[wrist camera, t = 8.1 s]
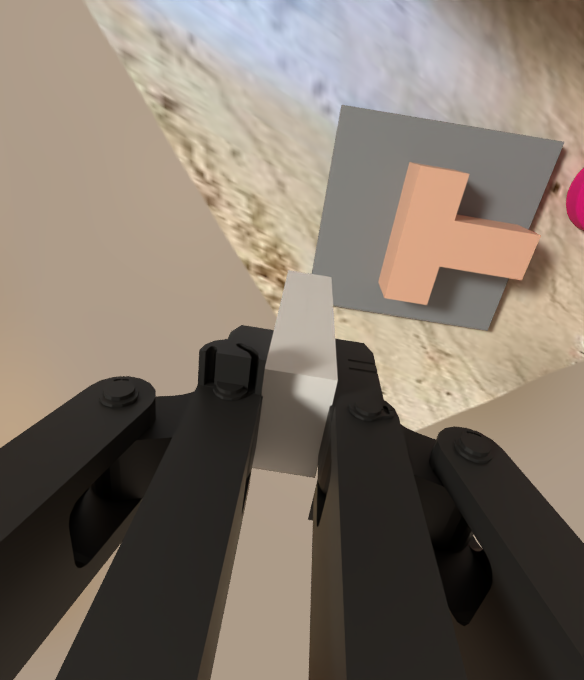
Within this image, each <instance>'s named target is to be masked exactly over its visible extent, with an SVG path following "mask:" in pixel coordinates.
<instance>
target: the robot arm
mask: <svg viewBox="0 0 584 680" xmlns="http://www.w3.org/2000/svg"><path fill="white" fill-rule="evenodd" d="M317 467H318V480H317V484H316V488H315V493H314V497H313V501H312V505H311V510H310V514H309V518H308V519H309V520H313V543H312V578H311V580H312V581H311V615H310V652H309V680H584V543H583V542H582V541H581V540H580V538H578V536H577V535H576V534H575V533H574V531H573V530H572V529H571V528H570V527H569V526H568V525H567V523H566V522H565V521H564V520H563V519H562V518H561V517H560V515H559V514H558V513H557V512H556V511H555V509H554V508H553V507H552V506H551V505H550V504H549V502H548V501H547V500H546V499H545V498H544V497H543V496H542V494H541V493H540V492H539V491H538V490H537V489H536V487H535V486H534V485H533V484H532V483H531V482H530V480H529V479H528V478H527V477H526V476H525V475H524V474H523V472H522V471H521V470H520V469H519V468H518V467H517V465H516V464H515V463H514V462H513V461H512V460H511V458H510V457H509V456H508V455H507V454H506V453H505V451H504V450H503V449H502V448H501V447H499V446H498V445H497V444H496V443H495V442H494V441H493V440H491V439H490V438H488V437H486V436H484V435H483V434H481V433H479V432H477V431H473V430H471V429H467V428H462V427H449V428H445V429H444V430H442V431H441V432H440V433H439V434H438V436H437V439H436V440H435V439H432V438H429V437H427V436H424V435H422V434H419V433H416V432H414V431H412V430H410V429H407V428H406V427H404V426H402V425H401V424H400V420H399V417H398V415H397V413H396V411H395V409H394V408H393V407H392V406H391V405H390V404H389V403H387V402H386V401H384V400H383V395H382V391H381V386H380V382H379V378H378V374H377V369H376V365H375V360H374V356H373V353H372V352H371V351H370V349H369V348H368V347H367V346H366V345H365V344H364V343H359V342H353V341H346V340H340V339H335V328H334V311H333V295H332V279H331V277H328V276H322V275H315V274H309V273H303V272H297V271H290V270H288V274H287V278H286V283H285V287H284V291H283V295H282V299H281V303H280V307H279V311H278V316H277V320H276V324H275V328H274V330H268V329H263V328H257V327H250V326H243V325H241V326H240V327H238V328H236V329H235V330H233V331H232V332H231V333H230V335H229V337H228V339H225V340H217V341H213V342H210V343H208V344H206V345H204V346H203V347H202V348H201V349H200V351H199V372H198V386H197V388H196V390H195V391H194V392H191V393H188V394H184V395H176V396H159V397H155V389H154V388H153V386H152V385H151V384H150V383H148V382H146V381H144V380H143V379H140V378H135V377H129V376H127V377H124V376H123V377H112V378H108V379H105V380H101V381H99V382H97V383H95V384H93V385H91V386H89V387H88V388H86V389H85V390H83V391H82V392H80V393H79V394H78V395H76V396H75V397H73V398H72V399H70V400H69V401H67V402H66V403H65V404H63V405H62V406H60V407H59V408H57V409H56V410H54V411H53V412H52V413H50V414H49V415H47V416H46V417H44V418H43V419H42V420H40V421H39V422H37V423H36V424H34V425H33V426H31V427H30V428H29V429H27V430H26V431H24V432H23V433H21V434H20V435H19V436H17V437H16V438H14V439H13V440H11V441H10V442H8V443H7V444H6V445H4V446H3V447H2V448H0V680H13V679H14V678H15V677H16V676H17V674H18V673H19V672H20V670H21V669H22V668H23V667H24V665H25V664H26V663H27V661H28V660H29V659H30V658H31V656H32V655H33V654H34V652H35V651H36V650H37V649H38V648H39V646H40V645H41V644H42V642H43V641H44V640H45V639H46V637H47V636H48V635H49V634H50V632H51V631H52V630H53V629H54V627H55V626H56V625H57V623H58V622H59V621H60V620H61V618H62V617H63V616H64V615H65V613H66V612H67V611H68V609H69V608H70V607H71V606H72V604H73V603H74V602H75V601H76V599H77V598H78V597H79V596H80V594H81V593H82V592H83V590H84V589H85V588H86V587H87V585H88V584H89V583H90V582H91V580H92V579H93V578H94V576H95V575H96V574H97V573H98V571H99V570H100V569H101V568H102V566H103V565H104V564H105V563H106V561H107V560H108V559H109V558H110V556H111V555H112V554H113V552H114V551H115V550H116V549H117V547H118V546H119V544H121V545H120V547H119V549H118V551H117V553H116V555H115V557H114V559H113V561H112V564H111V565H110V568H109V570H108V572H107V574H106V576H105V578H104V580H103V582H102V584H101V586H100V588H99V590H98V592H97V594H96V596H95V598H94V601H93V603H92V605H91V607H90V609H89V611H88V613H87V615H86V617H85V619H84V621H83V623H82V625H81V627H80V630H79V632H78V634H77V636H76V638H75V640H74V642H73V644H72V646H71V648H70V650H69V652H68V654H67V656H66V658H65V660H64V663H63V665H62V667H61V669H60V671H59V673H58V675H57V677H56V679H55V680H210V678H211V673H212V668H213V663H214V658H215V653H216V648H217V643H218V638H219V633H220V628H221V623H222V618H223V614H224V608H225V604H226V599H227V594H228V589H229V584H230V579H231V574H232V568H233V564H234V559H235V554H236V549H237V544H238V539H239V534H240V529H241V524H242V519H243V514H244V510H245V505H246V500H247V495H248V490H249V484H250V476H251V469H252V468H256V469H262V470H269V471H275V472H281V473H288V474H294V475H300V476H307V477H313V478H315V476H316V471H317ZM473 534H474V535H475V537H476V539H477V540H478V542H479V543H480V545H481V546H482V548H483V549H482V548H481V547H480V546H479V544H478V543H477V542H476V540H475V538H474V537H473ZM121 542H122V543H121Z"/></svg>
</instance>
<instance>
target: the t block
mask: <svg viewBox="0 0 584 680" xmlns="http://www.w3.org/2000/svg"><path fill="white" fill-rule="evenodd" d="M468 178H469V174H468V173H464V172H461V171H457V170H453V169H448V168H442V167H436V166H430V165H424V164H418V163H412V162H409V166H408V169H407V173H406V177H405V181H404V185H403V189H402V193H401V196H400V200H399V204H398V208H397V212H396V216H395V220H394V223H393V227H392V231H391V235H390V239H389V243H388V247H387V250H386V254H385V258H384V262H383V266H382V270H381V273H380V277H379V281H378V283H379V285H380V288H381V290H382V293H383V296H384V298H387V299H393V300H399V301H405V302H411V303H417V304H423V305H427V303H428V300H429V297H430V294H431V291H432V288H433V285H434V282H435V279H436V276H437V273H438V270H439V267H445V268H451V269H457V270H463V271H469V272H475V273H481V274H487V275H493V276H499V277H505V278H511V279H517V280H522V279H523V276H524V274H525V272H526V269H527V267H528V265H529V262H530V260H531V258H532V255H533V253H534V251H535V248H536V246H537V244H538V241H539V239H540V237H541V235H539V234H537V233H535V232H533V231H530V230H528V229H526V228H524V227H522V226H520V225H517V224H511V223H505V222H499V221H493V220H487V219H481V218H475V217H469V216H463V215H457V211H458V208H459V205H460V202H461V199H462V196H463V193H464V190H465V187H466V184H467V181H468Z"/></svg>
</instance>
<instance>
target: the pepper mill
mask: <svg viewBox="0 0 584 680" xmlns="http://www.w3.org/2000/svg"><path fill="white" fill-rule="evenodd" d="M566 208H567V214H568V216H569V218H570V220H571V221H572V222H573V224H574V225H575V226H576V227H578V228H580V229H582V230H584V168H583V169H582V170H581V171H580V172H579V173H578V174H577V176H576V177H575V179H574V180H573V182H572V184H571V186H570V188H569V190H568V193H567V199H566Z"/></svg>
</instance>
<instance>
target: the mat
mask: <svg viewBox="0 0 584 680" xmlns="http://www.w3.org/2000/svg"><path fill="white" fill-rule="evenodd" d="M563 144H564V142H562V141H556V140H550V139H544V138H538V137H532V136H526V135H520V134H514V133H508V132H502V131H496V130H490V129H484V128H478V127H472V126H466V125H460V124H454V123H448V122H442V121H436V120H430V119H423V118H417V117H411V116H405V115H399V114H393V113H387V112H381V111H375V110H369V109H363V108H357V107H351V106H345V105H342V106H341V111H340V117H339V122H338V128H337V134H336V139H335V145H334V151H333V156H332V162H331V168H330V173H329V179H328V185H327V190H326V196H325V202H324V207H323V213H322V219H321V224H320V230H319V236H318V241H317V247H316V253H315V259H314V264H313V270H312V274H315V275H322V276H328V277H331V279H332V295H333V306H338V307H344V308H350V309H356V310H362V311H369V312H375V313H381V314H387V315H393V316H400V317H406V318H412V319H418V320H424V321H431V322H437V323H443V324H449V325H455V326H461V327H468V328H474V329H480V330H486V331H488V328H489V326H490V323H491V321H492V318H493V316H494V313H495V311H496V308H497V306H498V304H499V301H500V299H501V296H502V294H503V291H504V289H505V286H506V284H507V281H508V279H509V278H505V277H499V276H493V275H487V274H481V273H475V272H469V271H463V270H457V269H451V268H445V267H439V270H438V273H437V276H436V279H435V282H434V285H433V288H432V291H431V294H430V297H429V300H428V303H427V305H423V304H417V303H411V302H405V301H399V300H393V299H387V298H384V296H383V293H382V290H381V288H380V285H379V283H378V281H379V277H380V273H381V270H382V266H383V262H384V258H385V254H386V250H387V247H388V243H389V239H390V235H391V231H392V227H393V223H394V220H395V216H396V212H397V208H398V204H399V200H400V196H401V193H402V189H403V185H404V181H405V177H406V173H407V169H408V166H409V162H412V163H418V164H424V165H430V166H436V167H442V168H448V169H453V170H457V171H461V172H464V173H468V174H469V178H468V181H467V184H466V187H465V190H464V193H463V196H462V199H461V202H460V205H459V208H458V211H457V215H463V216H469V217H475V218H481V219H487V220H493V221H499V222H505V223H511V224H517V225H520V226H522V227H524V228H526V229H528V230H529V228H530V225H531V223H532V220H533V218H534V215H535V213H536V210H537V208H538V205H539V203H540V201H541V198H542V196H543V193H544V191H545V188H546V186H547V183H548V181H549V179H550V176H551V174H552V171H553V169H554V166H555V164H556V161H557V159H558V156H559V154H560V152H561V149H562V147H563Z"/></svg>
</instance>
